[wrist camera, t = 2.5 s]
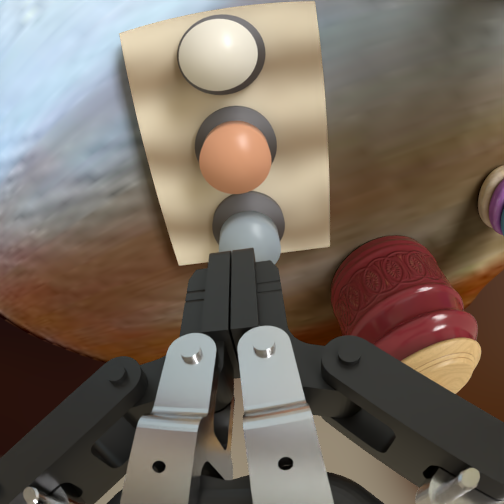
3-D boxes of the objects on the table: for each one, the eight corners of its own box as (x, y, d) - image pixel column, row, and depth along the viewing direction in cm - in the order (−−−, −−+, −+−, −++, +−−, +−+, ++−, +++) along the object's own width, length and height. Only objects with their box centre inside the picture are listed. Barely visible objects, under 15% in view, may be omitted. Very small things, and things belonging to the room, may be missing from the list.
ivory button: (179, 29, 17) (173, 27, 15) (251, 17, 16) (252, 13, 15) (190, 93, 19) (185, 97, 18) (260, 82, 19) (262, 85, 17)
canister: (447, 262, 34) (519, 377, 20) (379, 329, 41) (419, 447, 26) (381, 210, 30) (471, 352, 16) (305, 297, 36) (335, 444, 22)
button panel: (129, 34, 20) (115, 33, 17) (307, 5, 19) (317, -1, 17) (182, 250, 32) (177, 271, 29) (324, 232, 31) (331, 251, 29)
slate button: (215, 215, 25) (213, 228, 23) (275, 207, 24) (278, 220, 23) (225, 263, 27) (224, 278, 26) (280, 256, 27) (283, 271, 25)
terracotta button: (196, 126, 21) (192, 133, 19) (264, 116, 20) (267, 122, 19) (208, 186, 23) (206, 198, 22) (272, 178, 23) (274, 189, 21)
